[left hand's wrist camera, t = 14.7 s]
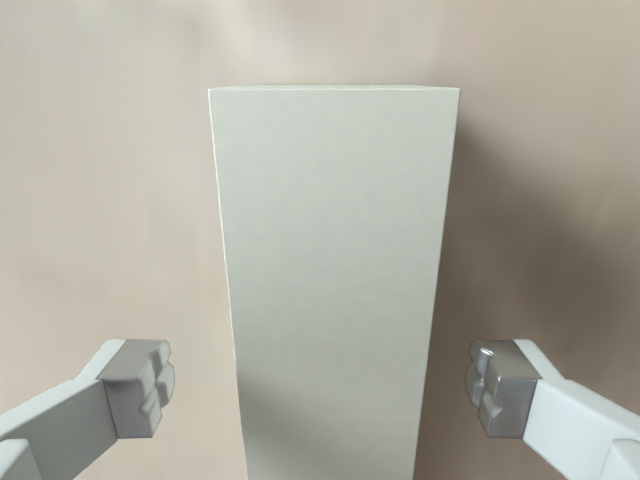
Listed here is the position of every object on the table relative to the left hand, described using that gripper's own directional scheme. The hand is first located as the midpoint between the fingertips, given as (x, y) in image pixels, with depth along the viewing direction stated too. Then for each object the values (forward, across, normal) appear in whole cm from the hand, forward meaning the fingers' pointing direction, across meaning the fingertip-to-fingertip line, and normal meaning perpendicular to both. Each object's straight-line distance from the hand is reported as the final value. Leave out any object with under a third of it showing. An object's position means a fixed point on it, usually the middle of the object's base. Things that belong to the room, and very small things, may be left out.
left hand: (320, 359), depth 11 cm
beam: (+5, 0, -27) cm, 27 cm away
